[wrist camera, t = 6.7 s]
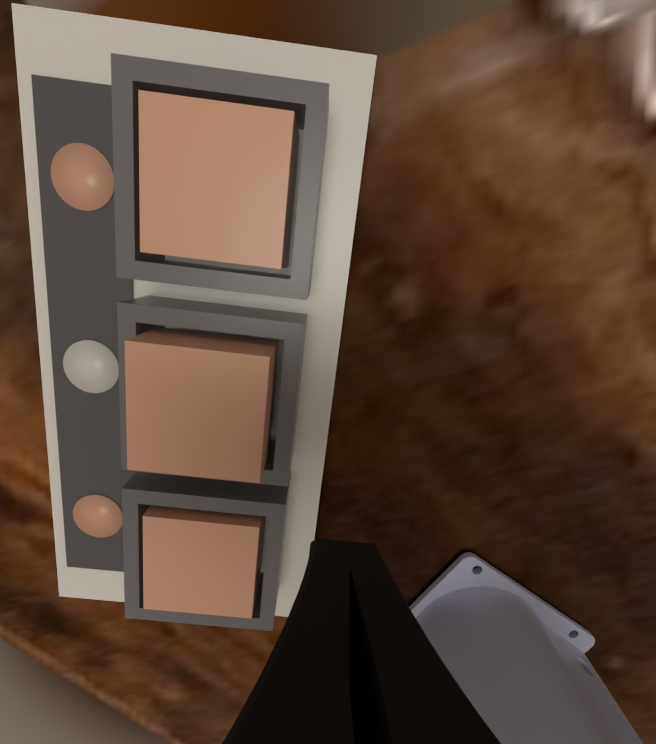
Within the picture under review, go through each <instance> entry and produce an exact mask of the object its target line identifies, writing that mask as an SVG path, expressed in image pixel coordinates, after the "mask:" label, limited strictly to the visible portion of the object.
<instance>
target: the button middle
mask: <svg viewBox="0 0 656 744" xmlns="http://www.w3.org/2000/svg"><path fill="white" fill-rule="evenodd" d="M278 344H279V341H272V340H263V339H254V338H246V337H237V336H228V335H220V334H211V333H202V332H194V331H185V330H176V329H168V328H159V327H156V328H154V329H151V330H149V331H146V332H144V333H142V334H139V335H137V336H134V337H132V338H129V339H127V340H125V384H126V432H127V470H135V471H145V472H154V473H164V474H174V475H184V476H194V477H203V478H213V479H223V480H233V481H242V482H252V483H260V480H261V477H262V473H263V470H264V466H265V463H266V460H267V456H268V453H269V448H270V436H271V425H272V413H273V402H274V390H275V379H276V367H277V356H278Z"/></svg>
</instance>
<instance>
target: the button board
mask: <svg viewBox="0 0 656 744" xmlns="http://www.w3.org/2000/svg"><path fill="white" fill-rule="evenodd" d="M12 16H13V28H14V40H15V53H16V65H17V78H18V90H19V102H20V115H21V127H22V140H23V152H24V164H25V177H26V189H27V202H28V214H29V226H30V239H31V251H32V264H33V276H34V288H35V301H36V313H37V326H38V338H39V350H40V363H41V375H42V387H43V400H44V412H45V425H46V437H47V449H48V462H49V474H50V487H51V499H52V511H53V524H54V536H55V549H56V561H57V573H58V586H59V596H63V597H74V598H85V599H96V600H107V601H118V602H125V618H131V619H142V620H153V621H165V622H176V623H187V624H198V625H210V626H221V627H232V628H243V629H255V630H266V631H273V625H274V618H275V616H284V617H288V616H289V613H290V611H291V608H292V606H293V603H294V601H295V599H296V596H297V594H298V591H299V588H300V585H301V582H302V579H303V576H304V573H305V570H306V566H307V563H308V558H309V551H310V543H311V542H312V541H314V538H315V530H316V522H317V514H318V507H319V499H320V491H321V483H322V476H323V468H324V460H325V452H326V445H327V437H328V429H329V421H330V414H331V406H332V398H333V391H334V383H335V375H336V367H337V360H338V352H339V344H340V336H341V329H342V321H343V313H344V305H345V298H346V290H347V282H348V274H349V267H350V259H351V251H352V244H353V236H354V228H355V220H356V213H357V205H358V197H359V189H360V182H361V174H362V166H363V158H364V151H365V143H366V135H367V127H368V120H369V112H370V104H371V97H372V89H373V81H374V73H375V66H376V58H377V55H371V54H364V53H357V52H350V51H343V50H336V49H328V48H322V47H315V46H308V45H301V44H294V43H287V42H280V41H273V40H266V39H259V38H252V37H245V36H238V35H231V34H224V33H217V32H210V31H203V30H196V29H189V28H182V27H175V26H168V25H161V24H154V23H147V22H140V21H133V20H126V19H119V18H112V17H105V16H98V15H91V14H84V13H77V12H70V11H63V10H56V9H49V8H42V7H35V6H28V5H21V4H14V3H12ZM138 90H144V91H151V92H158V93H165V94H173V95H180V96H187V97H195V98H202V99H209V100H217V101H224V102H231V103H239V104H246V105H253V106H261V107H268V108H275V109H282V110H290V111H294V112H295V117H296V122H297V126H298V131H299V135H300V137H299V148H298V160H297V171H296V182H295V193H294V205H293V216H292V227H291V239H290V250H289V261H288V268H284V269H276V268H267V267H259V266H251V265H243V264H235V263H226V262H218V261H210V260H202V259H194V258H185V257H177V256H169V255H161V254H153V253H144V252H140V202H139V97H138ZM156 327H159V328H168V329H176V330H185V331H194V332H202V333H211V334H220V335H228V336H237V337H246V338H254V339H263V340H272V341H279V344H278V356H277V367H276V379H275V390H274V402H273V413H272V425H271V436H270V448H269V453H268V456H267V460H266V463H265V466H264V470H263V473H262V477H261V480H260V483H252V482H242V481H233V480H223V479H213V478H203V477H194V476H184V475H174V474H164V473H154V472H145V471H135V470H127V432H126V384H125V340H127V339H129V338H132V337H134V336H137V335H139V334H142V333H144V332H146V331H149V330H151V329H154V328H156ZM150 505H155V506H165V507H176V508H186V509H196V510H206V511H216V512H226V513H236V514H246V515H256V516H266V522H265V533H264V544H263V556H262V567H261V576H260V581H259V586H258V590H257V595H256V600H255V605H254V610H253V615H252V619H251V618H240V617H229V616H218V615H207V614H195V613H184V612H173V611H162V610H151V609H143V515H144V513H145V512H146V511H147V509H148V508H149V506H150Z"/></svg>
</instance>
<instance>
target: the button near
mask: <svg viewBox="0 0 656 744" xmlns="http://www.w3.org/2000/svg"><path fill="white" fill-rule="evenodd" d="M138 97H139V202H140V252H144V253H153V254H161V255H169V256H177V257H185V258H194V259H202V260H210V261H218V262H226V263H235V264H243V265H251V266H259V267H267V268H276V269H284V268H288V261H289V250H290V239H291V227H292V216H293V205H294V193H295V182H296V171H297V160H298V148H299V137H300V135H299V131H298V126H297V122H296V117H295V112H294V111H290V110H282V109H275V108H268V107H261V106H253V105H246V104H239V103H231V102H224V101H217V100H209V99H202V98H195V97H187V96H180V95H173V94H165V93H158V92H151V91H144V90H138Z"/></svg>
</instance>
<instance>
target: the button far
mask: <svg viewBox="0 0 656 744" xmlns="http://www.w3.org/2000/svg"><path fill="white" fill-rule="evenodd" d="M265 522H266V516H256V515H246V514H236V513H226V512H216V511H206V510H196V509H186V508H176V507H165V506H155V505H150V506H149V508H148V509H147V511H146V512H145V513H144V515H143V609H151V610H162V611H173V612H184V613H195V614H207V615H218V616H229V617H240V618H251V619H252V615H253V610H254V605H255V600H256V595H257V590H258V586H259V581H260V576H261V567H262V556H263V544H264V533H265Z"/></svg>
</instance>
